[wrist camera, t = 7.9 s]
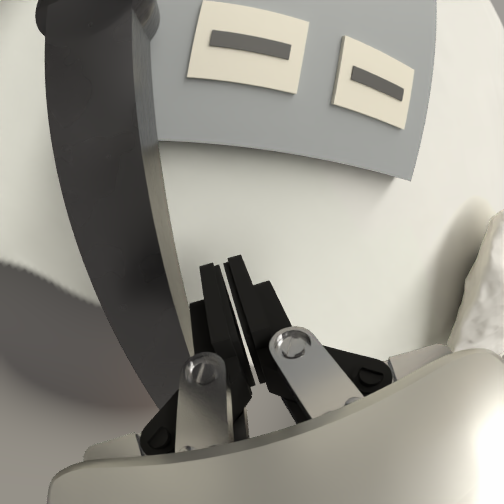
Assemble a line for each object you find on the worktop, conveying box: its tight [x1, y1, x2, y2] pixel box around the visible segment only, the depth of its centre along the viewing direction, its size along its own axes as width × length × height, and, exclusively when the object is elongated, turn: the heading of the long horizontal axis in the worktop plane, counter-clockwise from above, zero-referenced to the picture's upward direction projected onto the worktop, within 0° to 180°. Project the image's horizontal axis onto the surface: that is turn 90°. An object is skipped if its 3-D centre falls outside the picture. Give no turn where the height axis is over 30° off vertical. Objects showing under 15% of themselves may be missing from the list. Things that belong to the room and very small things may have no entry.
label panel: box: [150, 0, 437, 181], centre depth 9 cm, size 19×16×3 cm
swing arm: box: [35, 0, 194, 409], centre depth 9 cm, size 19×3×4 cm, turn 3°
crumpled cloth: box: [446, 209, 504, 355], centre depth 25 cm, size 24×35×9 cm
